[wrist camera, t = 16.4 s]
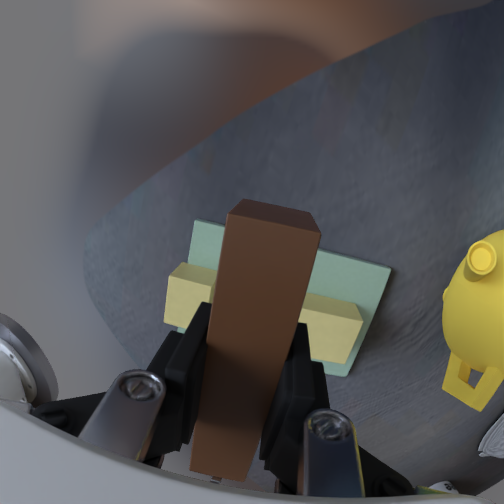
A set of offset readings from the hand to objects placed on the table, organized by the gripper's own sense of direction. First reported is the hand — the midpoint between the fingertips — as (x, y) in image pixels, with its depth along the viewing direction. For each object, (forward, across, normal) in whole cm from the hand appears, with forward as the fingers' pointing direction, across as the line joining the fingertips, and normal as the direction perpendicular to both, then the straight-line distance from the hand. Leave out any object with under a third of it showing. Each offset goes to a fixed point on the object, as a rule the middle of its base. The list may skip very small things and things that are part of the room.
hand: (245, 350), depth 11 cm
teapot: (+15, -21, 0) cm, 26 cm away
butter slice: (+14, +5, +5) cm, 16 cm away
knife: (+1, 0, +5) cm, 5 cm away
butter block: (+14, -5, +5) cm, 16 cm away
